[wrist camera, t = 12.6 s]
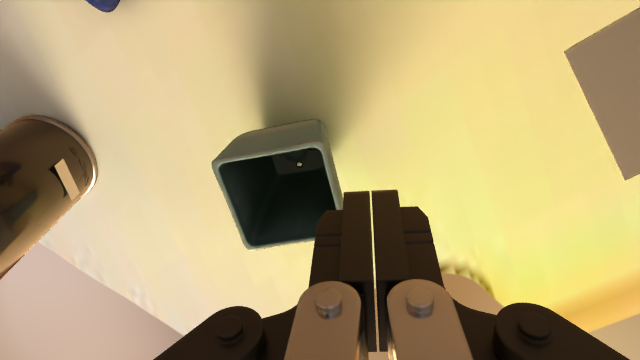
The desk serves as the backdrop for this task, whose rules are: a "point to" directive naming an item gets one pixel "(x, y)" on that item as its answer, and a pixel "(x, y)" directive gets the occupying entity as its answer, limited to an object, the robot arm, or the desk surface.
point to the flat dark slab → (613, 86)
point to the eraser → (104, 4)
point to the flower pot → (279, 183)
